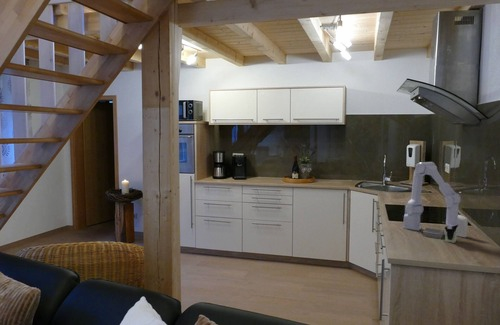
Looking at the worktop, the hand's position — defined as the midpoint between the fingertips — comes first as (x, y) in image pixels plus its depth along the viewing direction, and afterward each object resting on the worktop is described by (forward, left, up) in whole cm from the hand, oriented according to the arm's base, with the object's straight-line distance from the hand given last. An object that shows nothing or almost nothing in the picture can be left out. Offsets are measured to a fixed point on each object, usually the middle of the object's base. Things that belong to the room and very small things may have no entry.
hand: (450, 238), depth 217 cm
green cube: (0, 0, -1) cm, 1 cm away
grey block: (-10, +6, -2) cm, 12 cm away
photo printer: (+2, +14, -2) cm, 14 cm away
